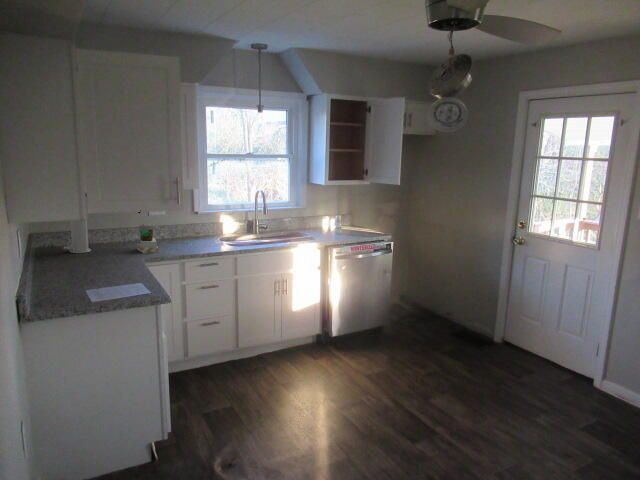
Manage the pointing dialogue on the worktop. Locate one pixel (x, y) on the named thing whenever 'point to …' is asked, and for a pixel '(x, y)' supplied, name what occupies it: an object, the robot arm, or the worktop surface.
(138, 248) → the base slab
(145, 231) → the food container
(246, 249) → the worktop surface
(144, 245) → the top slab
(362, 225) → the worktop surface
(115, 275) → the worktop surface
